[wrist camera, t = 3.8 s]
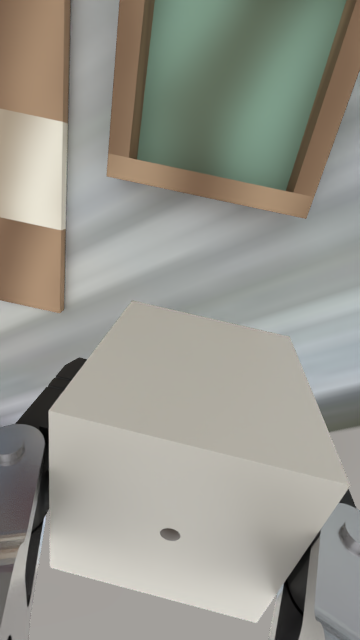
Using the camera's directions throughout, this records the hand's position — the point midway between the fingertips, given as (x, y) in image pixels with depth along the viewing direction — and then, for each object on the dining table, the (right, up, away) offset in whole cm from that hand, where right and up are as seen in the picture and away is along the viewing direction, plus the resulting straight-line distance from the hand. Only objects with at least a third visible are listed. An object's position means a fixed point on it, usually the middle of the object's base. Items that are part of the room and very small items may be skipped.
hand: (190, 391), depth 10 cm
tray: (+2, +14, +5) cm, 15 cm away
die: (0, 0, +1) cm, 1 cm away
